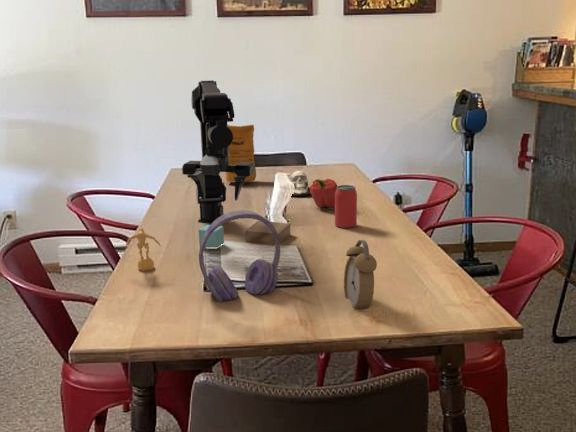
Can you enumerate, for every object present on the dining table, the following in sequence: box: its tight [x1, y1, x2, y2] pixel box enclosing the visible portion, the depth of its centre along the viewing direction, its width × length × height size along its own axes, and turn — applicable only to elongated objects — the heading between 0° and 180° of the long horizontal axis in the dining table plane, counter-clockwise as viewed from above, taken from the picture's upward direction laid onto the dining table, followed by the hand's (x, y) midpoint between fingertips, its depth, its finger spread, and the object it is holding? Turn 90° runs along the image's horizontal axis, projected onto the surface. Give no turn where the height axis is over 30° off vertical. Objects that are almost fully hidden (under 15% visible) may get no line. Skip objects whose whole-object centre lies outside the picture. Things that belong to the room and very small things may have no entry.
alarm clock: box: [343, 239, 378, 310], centre depth 134 cm, size 11×5×15 cm, turn 11°
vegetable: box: [309, 178, 339, 209], centre depth 213 cm, size 11×10×10 cm
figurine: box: [125, 227, 161, 272], centre depth 155 cm, size 8×6×12 cm
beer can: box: [334, 184, 358, 229], centre depth 191 cm, size 7×7×12 cm
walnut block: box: [244, 220, 291, 245], centre depth 181 cm, size 10×10×4 cm
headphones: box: [198, 209, 281, 303], centre depth 139 cm, size 18×8×20 cm, turn 114°
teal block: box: [198, 224, 225, 250], centre depth 173 cm, size 5×5×6 cm
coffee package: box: [225, 124, 257, 183], centre depth 252 cm, size 10×12×22 cm
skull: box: [289, 170, 311, 196], centre depth 233 cm, size 12×10×10 cm
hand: (220, 199), depth 172 cm, fingers open, 9 cm apart
